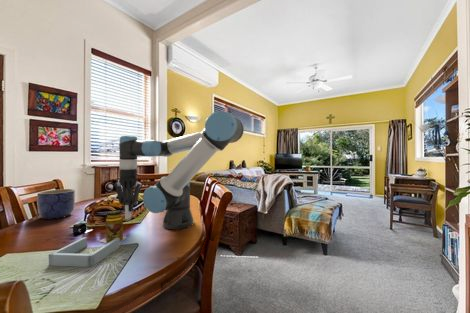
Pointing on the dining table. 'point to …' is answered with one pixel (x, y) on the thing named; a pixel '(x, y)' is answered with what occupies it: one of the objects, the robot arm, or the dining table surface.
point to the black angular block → (77, 230)
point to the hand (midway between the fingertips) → (128, 218)
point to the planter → (56, 203)
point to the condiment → (114, 226)
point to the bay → (68, 257)
